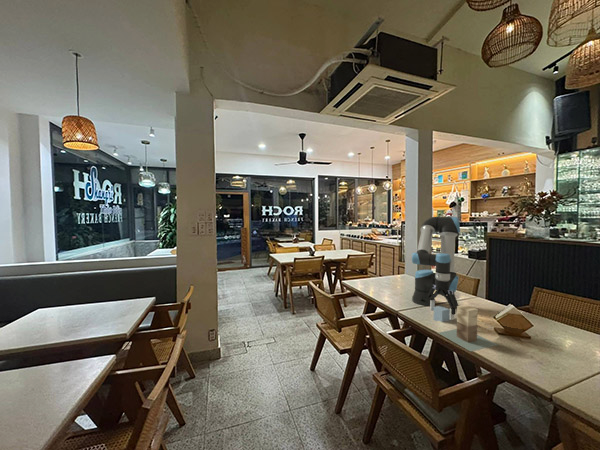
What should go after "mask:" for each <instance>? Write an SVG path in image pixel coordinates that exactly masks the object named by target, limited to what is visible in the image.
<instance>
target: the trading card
mask: <svg viewBox="0 0 600 450" xmlns="http://www.w3.org/2000/svg"><path fill="white" fill-rule="evenodd" d="M455 317H456V316H454V319H455ZM477 322H479V323H482V324H484V325H485V326H488V328H486V330H489V329H494V327H493V326H491V325H489V324H486V323H484V322H481V321H480V320H478V319H477Z"/></svg>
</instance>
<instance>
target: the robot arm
mask: <svg viewBox="0 0 600 450" xmlns="http://www.w3.org/2000/svg"><path fill="white" fill-rule="evenodd" d="M459 219H460V218H458V217H457V216H433V217H430V218H427V219H426V220H425V221H424V222H423V223H422V224H421V225H420V230H419V232H420V235H419V236H420V237H419V240H418V246H417V249H416V252H413V253H412V254H411V261H412V262H411V263H412V264H416V265H421V266H429V267H435V272H434V271H433V270H432V269H420V270H419V269H418V270H417V271H415V273H414V274H415V275H414V292H413V295H412V296H411V301H412V302H413V303H415V304H417V305H421V306H429V311H431V312H434V307H436V306H435V305H436V298H437V296H438V295H439V296H442V297H444V298H445V300H446V302H447V303H448V306H450V308H449V309H450V321H453V320H455V318H454V317H455V315H457V306H460V305H459V302H458V301H457V297H456V295H455V293H456V291H457V288H458V285H459V278H460V277H459V275H457V272H456V271H455V252H456V251H455V248H456V238H457V237H458V236H459V235H458V234H460V233H461V228H460V226H461V225H460V220H459ZM435 233H438V235H439V236H440V237H441V238H440V251H439V252H440V253H436V254H434V253H430V252H431V245H432V239H433V235H434V234H435Z"/></svg>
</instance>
